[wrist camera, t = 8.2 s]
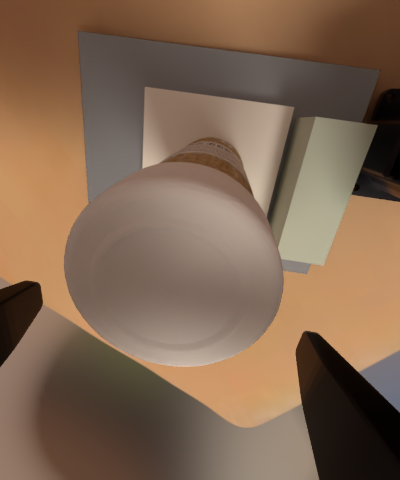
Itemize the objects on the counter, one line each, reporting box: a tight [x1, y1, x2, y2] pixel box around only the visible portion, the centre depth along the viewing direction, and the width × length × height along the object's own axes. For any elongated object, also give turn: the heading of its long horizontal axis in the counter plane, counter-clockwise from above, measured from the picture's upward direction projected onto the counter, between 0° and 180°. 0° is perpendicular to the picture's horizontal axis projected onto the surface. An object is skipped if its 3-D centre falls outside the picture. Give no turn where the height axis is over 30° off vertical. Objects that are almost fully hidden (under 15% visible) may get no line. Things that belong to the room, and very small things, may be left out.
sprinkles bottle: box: [64, 137, 284, 367], centre depth 11 cm, size 5×5×13 cm
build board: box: [78, 31, 381, 274], centre depth 17 cm, size 18×14×5 cm
